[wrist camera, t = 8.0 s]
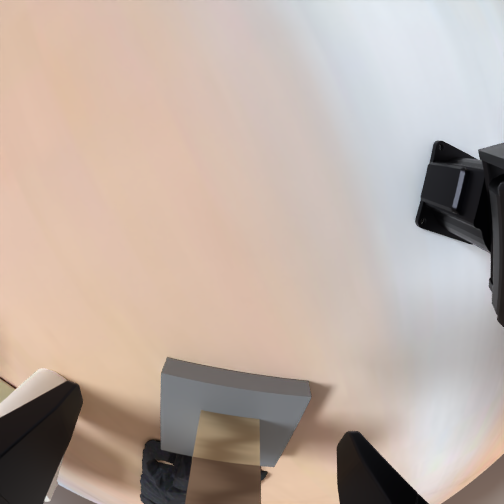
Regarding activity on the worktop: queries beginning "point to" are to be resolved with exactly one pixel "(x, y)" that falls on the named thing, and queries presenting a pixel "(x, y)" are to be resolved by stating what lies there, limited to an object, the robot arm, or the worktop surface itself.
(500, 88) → the worktop surface
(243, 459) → the oak block
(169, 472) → the dark slate chunk
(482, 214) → the robot arm
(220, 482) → the walnut block
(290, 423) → the base
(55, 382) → the foam cup
